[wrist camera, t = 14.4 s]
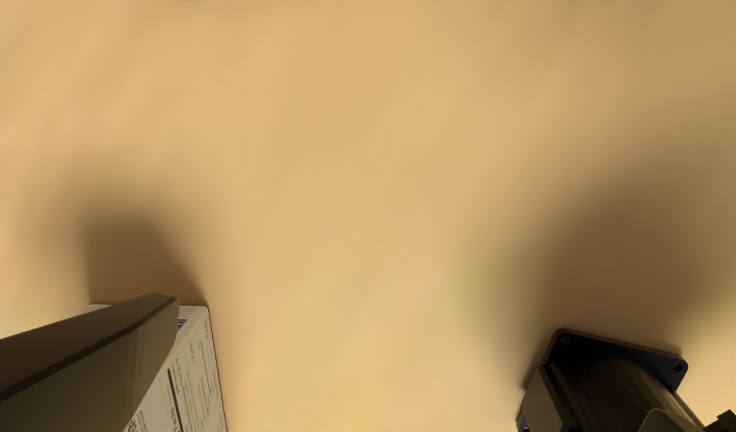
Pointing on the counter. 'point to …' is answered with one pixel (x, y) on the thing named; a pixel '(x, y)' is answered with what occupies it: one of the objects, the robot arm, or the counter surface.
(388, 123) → the counter surface
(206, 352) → the light bulb box
